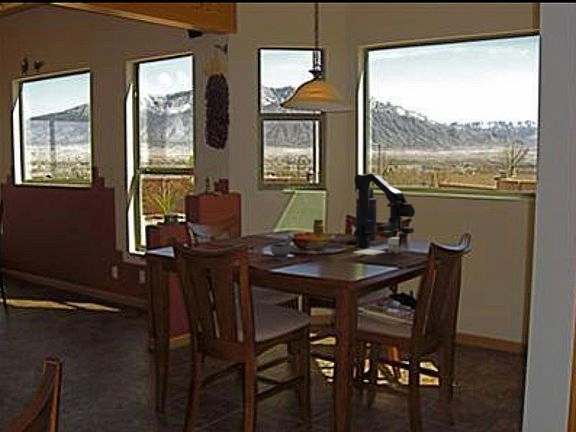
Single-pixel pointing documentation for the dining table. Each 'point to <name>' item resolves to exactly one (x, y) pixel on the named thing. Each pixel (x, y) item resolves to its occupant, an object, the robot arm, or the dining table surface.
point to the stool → (394, 244)
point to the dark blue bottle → (372, 211)
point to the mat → (369, 252)
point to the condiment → (318, 227)
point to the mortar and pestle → (282, 249)
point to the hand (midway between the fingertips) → (395, 245)
